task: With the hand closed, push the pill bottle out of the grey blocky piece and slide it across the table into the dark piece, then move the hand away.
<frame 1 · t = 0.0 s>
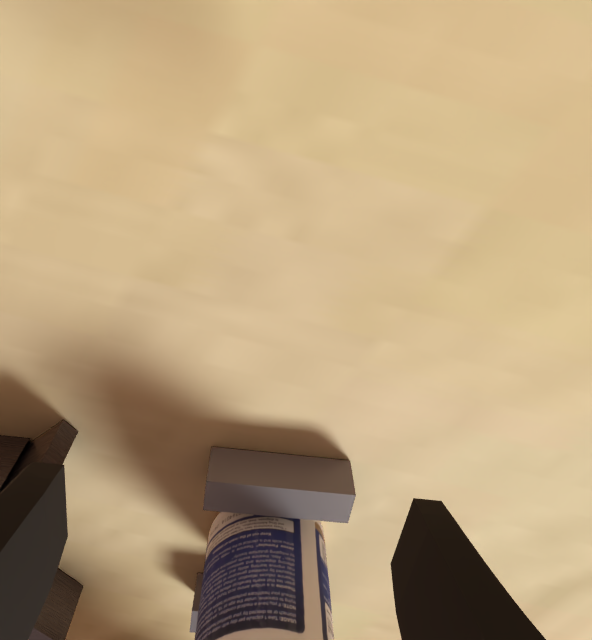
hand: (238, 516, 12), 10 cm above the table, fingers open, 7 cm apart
grey blocky piece: (266, 532, 26), on the table
pill bottle: (266, 528, 27), on the table
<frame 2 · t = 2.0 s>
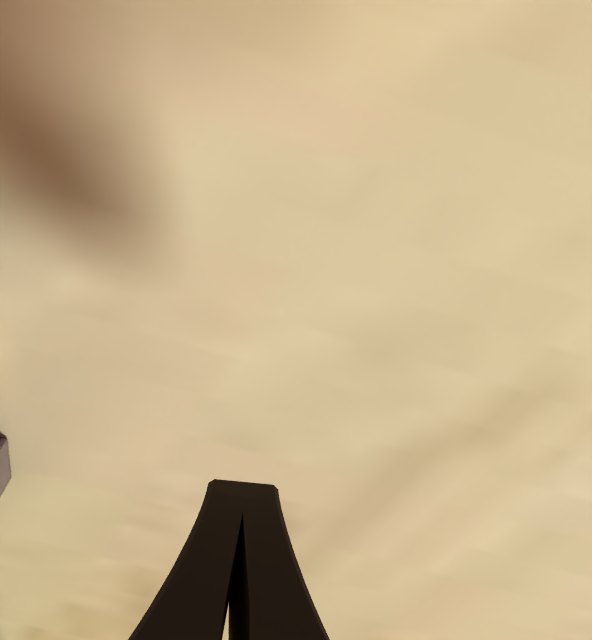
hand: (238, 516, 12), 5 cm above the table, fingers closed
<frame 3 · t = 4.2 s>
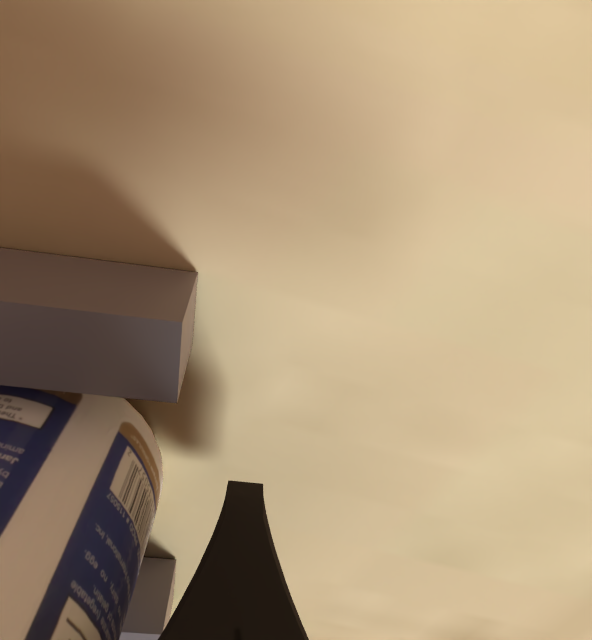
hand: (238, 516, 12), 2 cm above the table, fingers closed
grey blocky piece: (49, 451, 13), on the table
pill bottle: (51, 447, 13), on the table, touching gripper
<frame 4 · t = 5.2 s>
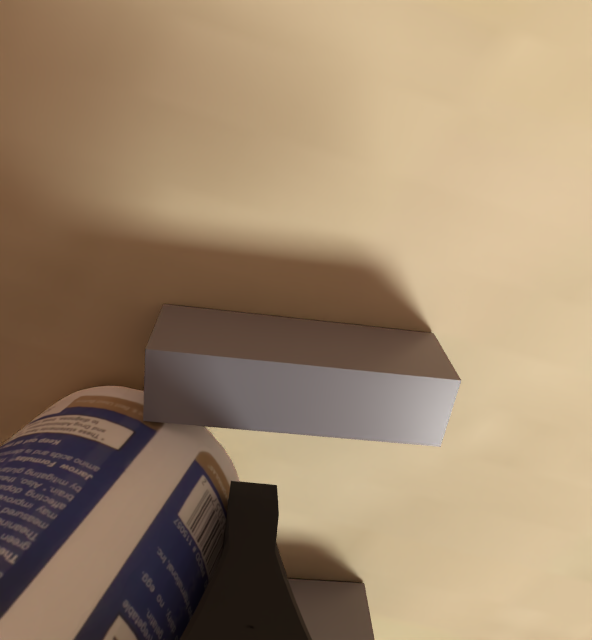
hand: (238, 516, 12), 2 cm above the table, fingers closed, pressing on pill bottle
grey blocky piece: (274, 488, 14), on the table
pill bottle: (146, 474, 13), on the table, touching gripper, grey blocky piece
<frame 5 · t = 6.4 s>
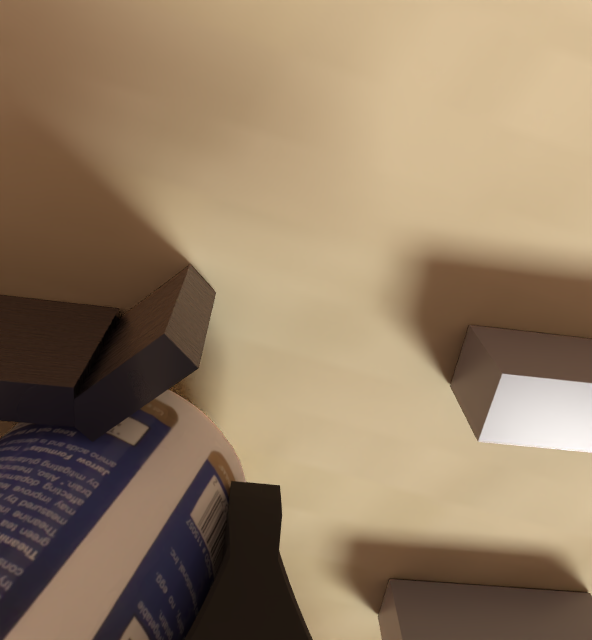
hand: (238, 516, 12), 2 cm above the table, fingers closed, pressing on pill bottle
grey blocky piece: (528, 501, 15), on the table
pill bottle: (148, 467, 13), on the table, touching gripper
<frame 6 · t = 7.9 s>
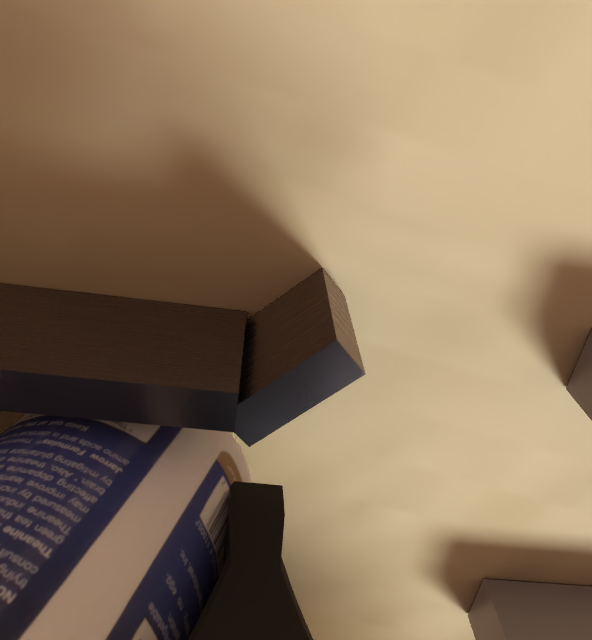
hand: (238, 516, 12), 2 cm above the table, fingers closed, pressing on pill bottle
dark piece: (81, 455, 13), on the table
pill bottle: (152, 461, 13), on the table, touching gripper
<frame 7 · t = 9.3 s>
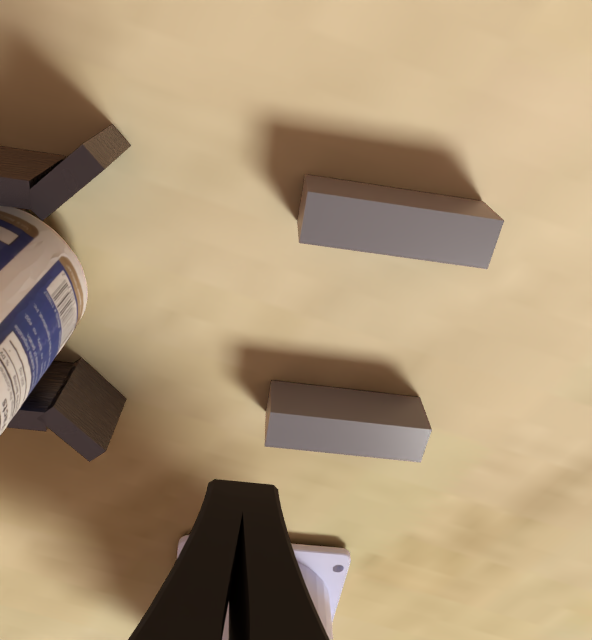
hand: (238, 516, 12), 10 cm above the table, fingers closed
grey blocky piece: (363, 317, 21), on the table
pill bottle: (17, 269, 19), on the table
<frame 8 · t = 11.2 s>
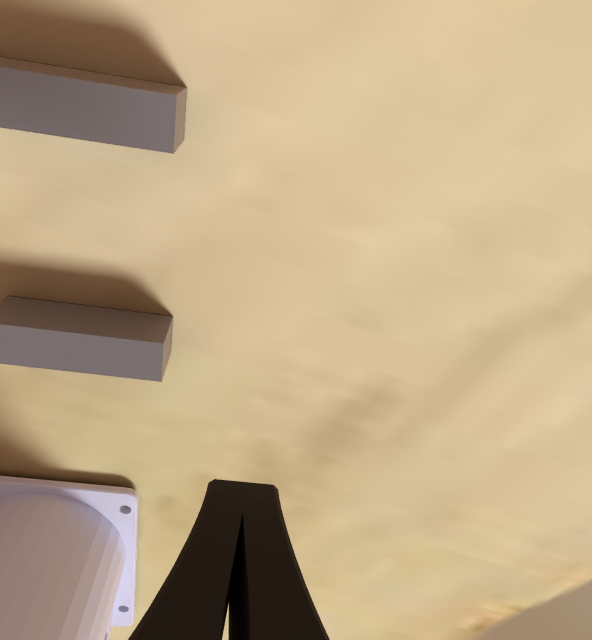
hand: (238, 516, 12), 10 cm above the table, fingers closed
grey blocky piece: (90, 222, 19), on the table
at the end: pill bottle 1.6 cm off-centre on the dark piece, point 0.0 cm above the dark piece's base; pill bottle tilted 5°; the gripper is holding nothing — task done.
